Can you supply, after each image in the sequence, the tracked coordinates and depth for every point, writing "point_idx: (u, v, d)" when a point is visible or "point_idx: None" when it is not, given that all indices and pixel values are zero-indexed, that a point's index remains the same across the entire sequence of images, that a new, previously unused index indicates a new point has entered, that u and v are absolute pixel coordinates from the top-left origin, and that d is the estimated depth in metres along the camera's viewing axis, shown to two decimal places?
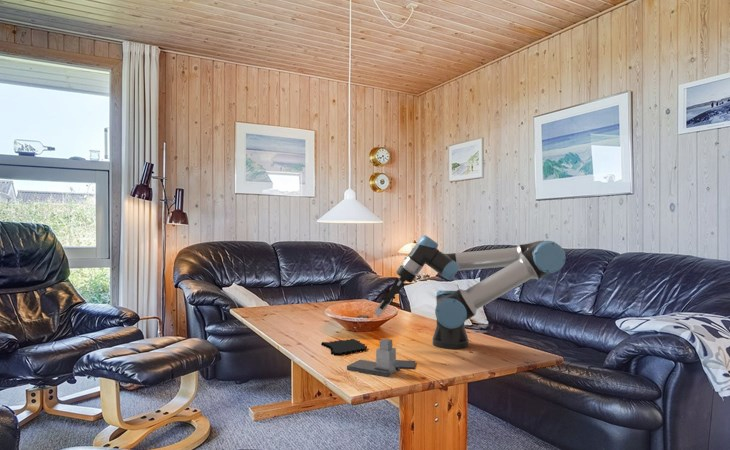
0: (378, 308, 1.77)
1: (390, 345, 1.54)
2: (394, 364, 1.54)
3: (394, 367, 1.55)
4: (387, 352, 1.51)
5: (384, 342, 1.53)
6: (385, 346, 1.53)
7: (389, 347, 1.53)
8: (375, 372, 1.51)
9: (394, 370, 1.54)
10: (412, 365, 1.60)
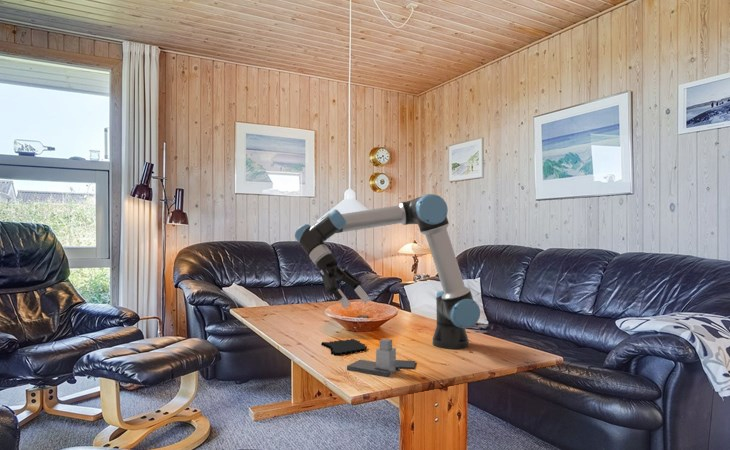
0: (341, 301, 1.55)
1: (390, 345, 1.54)
2: (394, 364, 1.54)
3: (394, 367, 1.55)
4: (387, 352, 1.51)
5: (384, 342, 1.53)
6: (385, 346, 1.53)
7: (389, 347, 1.53)
8: (375, 372, 1.51)
9: (394, 370, 1.54)
10: (412, 365, 1.60)
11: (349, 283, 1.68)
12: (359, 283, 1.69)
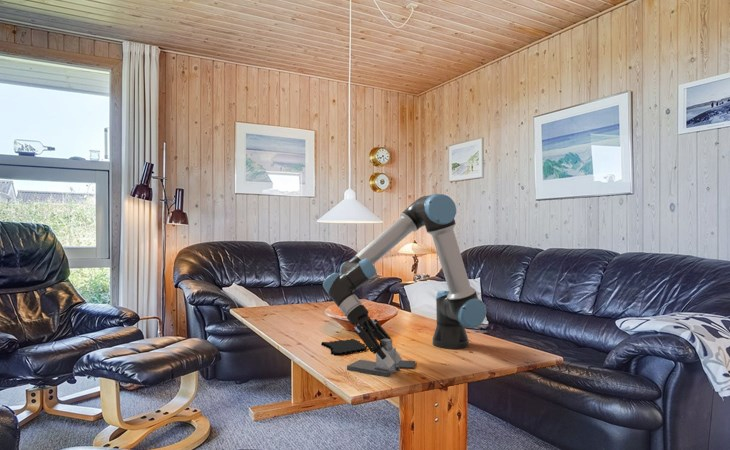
0: (385, 360, 1.51)
1: (390, 345, 1.54)
2: (394, 364, 1.54)
3: (394, 367, 1.55)
4: (387, 352, 1.51)
5: (384, 342, 1.53)
6: (385, 346, 1.53)
7: (389, 347, 1.53)
8: (375, 372, 1.51)
9: (394, 370, 1.54)
10: (412, 365, 1.60)
11: (379, 339, 1.59)
12: None
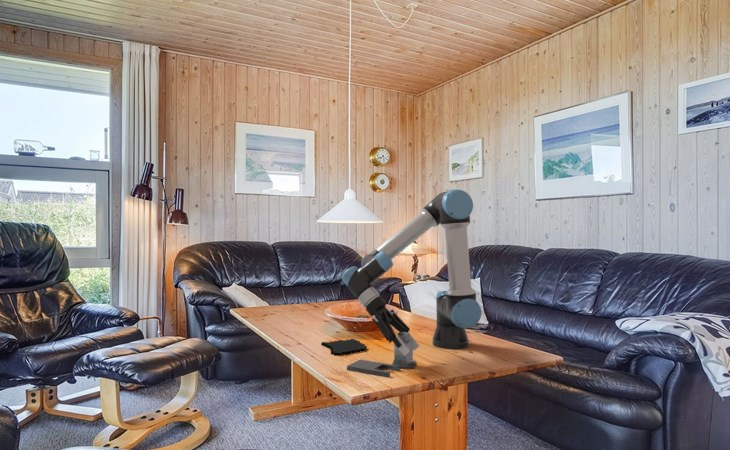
0: (400, 349, 1.58)
1: (407, 337, 1.62)
2: (411, 356, 1.63)
3: (411, 358, 1.63)
4: (405, 344, 1.60)
5: (402, 335, 1.61)
6: (403, 338, 1.61)
7: (407, 339, 1.61)
8: (375, 372, 1.51)
9: (411, 361, 1.63)
10: (412, 365, 1.60)
11: (397, 328, 1.68)
12: (407, 329, 1.67)
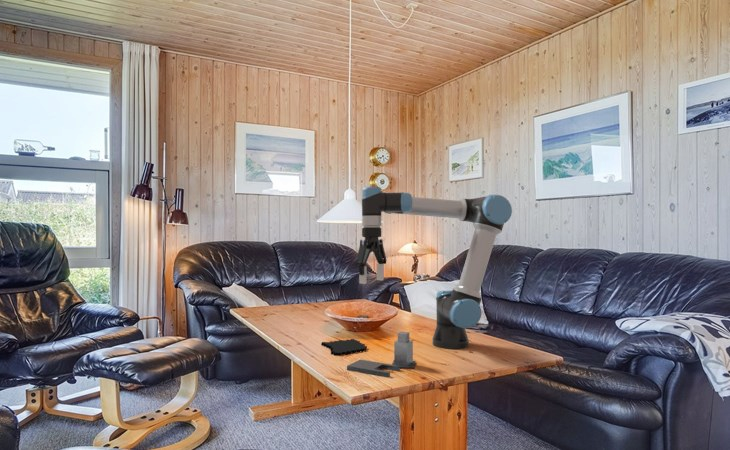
0: (360, 276, 1.68)
1: (407, 337, 1.62)
2: (411, 356, 1.63)
3: (411, 358, 1.63)
4: (405, 344, 1.60)
5: (402, 335, 1.61)
6: (403, 338, 1.61)
7: (407, 339, 1.61)
8: (375, 372, 1.51)
9: (411, 361, 1.63)
10: (412, 365, 1.60)
11: (377, 257, 1.79)
12: (384, 262, 1.80)
